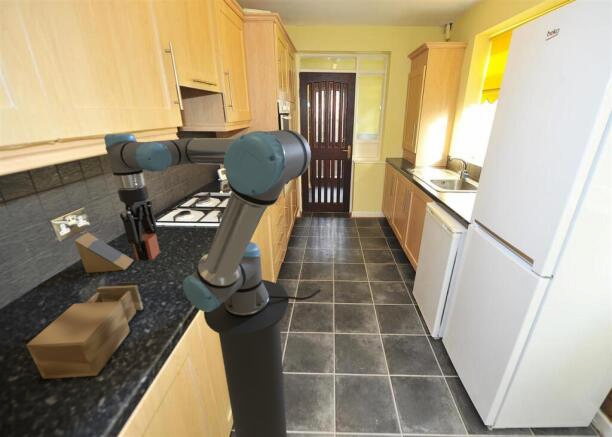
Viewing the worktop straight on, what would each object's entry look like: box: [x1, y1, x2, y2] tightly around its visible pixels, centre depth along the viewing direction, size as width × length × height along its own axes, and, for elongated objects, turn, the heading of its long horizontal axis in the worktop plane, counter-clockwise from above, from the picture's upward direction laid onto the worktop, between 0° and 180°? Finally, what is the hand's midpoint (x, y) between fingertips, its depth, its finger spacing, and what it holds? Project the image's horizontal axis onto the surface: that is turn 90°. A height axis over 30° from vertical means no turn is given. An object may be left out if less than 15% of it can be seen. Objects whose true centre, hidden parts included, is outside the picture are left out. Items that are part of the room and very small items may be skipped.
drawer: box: [85, 281, 144, 323], centre depth 83 cm, size 19×12×9 cm, turn 3°
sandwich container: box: [74, 231, 134, 274], centre depth 113 cm, size 9×15×15 cm, turn 98°
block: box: [132, 233, 161, 261], centre depth 88 cm, size 5×5×7 cm
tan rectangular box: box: [26, 301, 131, 380], centre depth 71 cm, size 15×13×11 cm
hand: (148, 255), depth 89 cm, fingers closed on block, 5 cm apart
